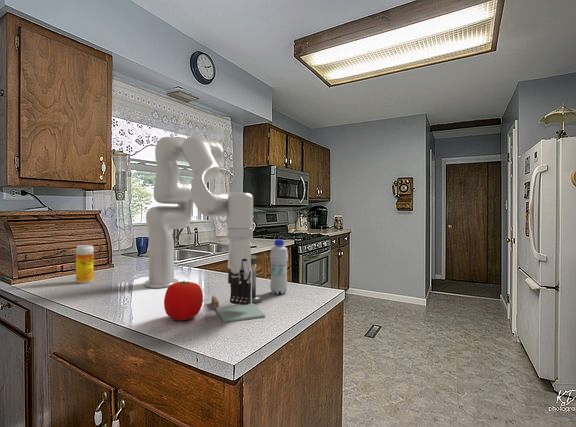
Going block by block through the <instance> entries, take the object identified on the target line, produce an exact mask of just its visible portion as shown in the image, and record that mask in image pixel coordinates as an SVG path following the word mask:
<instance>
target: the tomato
mask: <svg viewBox="0 0 576 427" xmlns="http://www.w3.org/2000/svg"><path fill="white" fill-rule="evenodd" d="M203 301H204V295H203V291H202V288H201V286H200V285H199V284H198V283H197V282H192V281H185V280H183V281H178V282H176V283H173V284H171V285H170V286H169V287H167V288H166V290H165V295H164V300H163V305H164V306H163V308H164V311H165V314H166V315H167V317H169V318H170V319H172V320H176V321H186V320H187V321H188V320H190V319H192V318H194V317H196V316H197V315H198V314H199V313H200V311H201V308H202V306H203V303H204V302H203Z"/></svg>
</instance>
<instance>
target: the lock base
mask: <svg viewBox="0 0 576 427" xmlns="http://www.w3.org/2000/svg"><path fill="white" fill-rule="evenodd" d="M261 302H262V301H261V295H257V294H256V297H255V298H252V303H254V304H255V305H257V304H260V303H261Z"/></svg>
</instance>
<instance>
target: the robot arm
mask: <svg viewBox="0 0 576 427" xmlns="http://www.w3.org/2000/svg"><path fill="white" fill-rule="evenodd" d="M154 155H155V161H156V163H155V164H156V172H155V178H154V186H153V199H154V200H155V201H156V202H157V203H158V204H166V205H156V206H152V207H150V208H149V209H148V210H147V211H146V212H145V213H146V214H145V221H146V227H147V232H148V280H145V282H144V287H145V288H148V289H149V288H152V289H162V288H168V287H169V286H170V285H171V284H173V283H176V282H179V279H176V278H175V240H174V237H173V235H172V234H171V232H170V231H169V230H181V229H182V230H183V229H186V228H188V227H189V226H190V224H191V221H192V215H193V211H194V205H195V207H196V209H197V210H198V212H199V213H200V214H201V215H203V216H205V217H227V222H226V223H227V226H226V227H227V229H226V231H227V234H226V235H227V240H229V241H228V255H227V268H228V270H229V268H230V270H231V272H232V273H233V274H237V273H238V282H239V283H237V297H248V295H249V279H248V277H249V272H250V270H251V255H252V252H251V251H252V250H251V240H253V239H254V234H253V233H254V228H253V227H254V196H253V194H251V193H249V192H224V191H222V192H221V191H210V190H209V189H208V187H207V185H206V184H207V183H209V182H212V181H213V180H215V179H217V178H216V177H218V175H219V173H220V166H219V164H218V163H220V162H221V161H222V159H223V156H224V149H223V146H222V145H221V144H220V142H219V141H217V140H215V139H209V138H205V137H199V136H189V137H187V138H181V137H180V138H179V137H174V136H163V137H161V138H159V140H157V142H156V145H155V148H154ZM177 162H184V163H188V166H189V167H190V169H191V170H192V173H193V175H194V176H193V178H192V180H191V182H190V181H186V180H179V178H180V175H181V174H180V172H181V171H180V167H179V165H178V163H177ZM167 204H168V205H167ZM171 205H172V206H171ZM175 205H177V206H175ZM240 271H243V272H240ZM241 275H243V276H242V277H241Z"/></svg>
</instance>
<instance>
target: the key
mask: <svg viewBox="0 0 576 427" xmlns="http://www.w3.org/2000/svg"><path fill="white" fill-rule="evenodd" d="M251 268H252V276H253V282H252V298H255V297H256V295H257V294H256V293H257V255H255V254H254V255H253V254H251Z"/></svg>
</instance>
